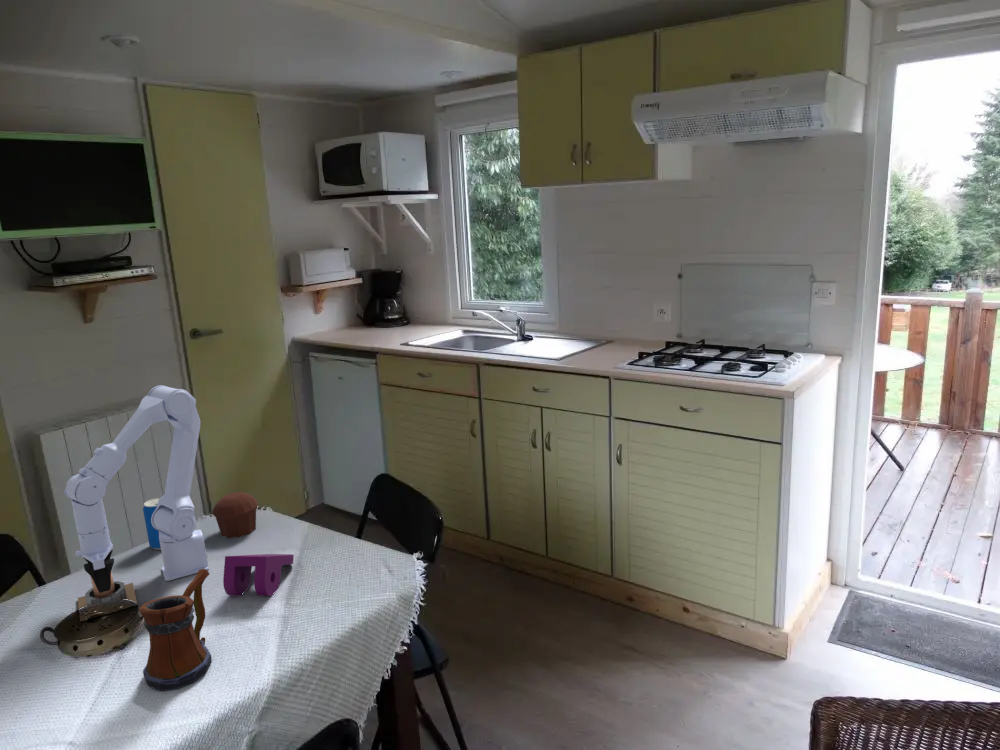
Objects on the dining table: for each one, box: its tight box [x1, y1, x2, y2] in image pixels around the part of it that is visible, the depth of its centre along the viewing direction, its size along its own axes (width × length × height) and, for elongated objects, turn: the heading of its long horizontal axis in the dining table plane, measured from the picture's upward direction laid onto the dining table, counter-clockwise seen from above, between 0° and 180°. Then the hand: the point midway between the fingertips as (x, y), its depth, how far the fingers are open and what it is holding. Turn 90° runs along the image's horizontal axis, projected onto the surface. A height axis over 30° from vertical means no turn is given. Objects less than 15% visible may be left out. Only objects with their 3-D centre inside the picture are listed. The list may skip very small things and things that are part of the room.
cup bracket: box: [77, 580, 138, 609], centre depth 157 cm, size 11×11×3 cm
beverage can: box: [142, 497, 161, 551], centre depth 183 cm, size 6×6×12 cm
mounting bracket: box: [222, 553, 295, 597], centre depth 162 cm, size 9×8×18 cm
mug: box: [138, 569, 213, 692], centre depth 133 cm, size 18×12×15 cm, turn 171°
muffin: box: [211, 491, 259, 539], centre depth 190 cm, size 12×11×10 cm
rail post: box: [90, 571, 115, 598], centre depth 156 cm, size 4×4×7 cm
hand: (104, 586), depth 156 cm, fingers closed on rail post, 4 cm apart
